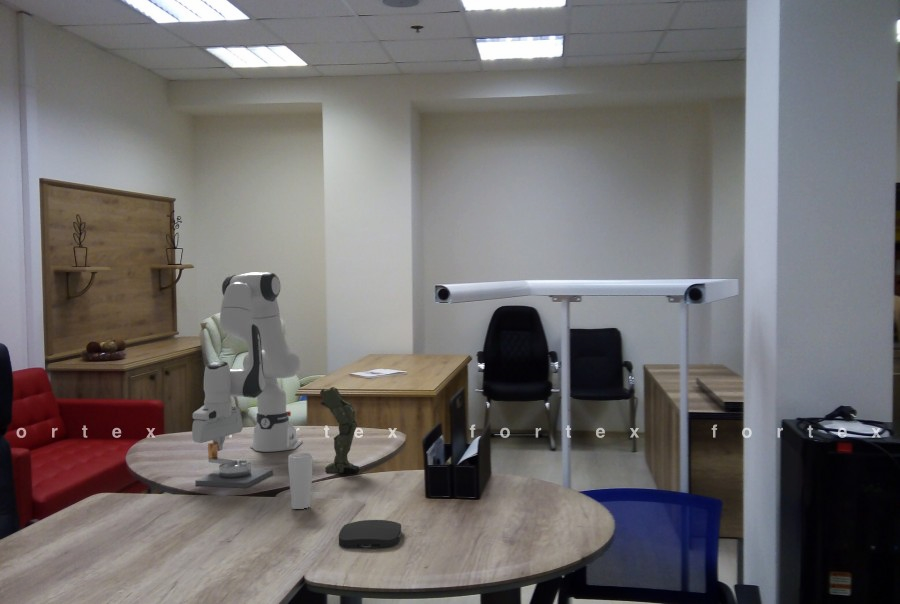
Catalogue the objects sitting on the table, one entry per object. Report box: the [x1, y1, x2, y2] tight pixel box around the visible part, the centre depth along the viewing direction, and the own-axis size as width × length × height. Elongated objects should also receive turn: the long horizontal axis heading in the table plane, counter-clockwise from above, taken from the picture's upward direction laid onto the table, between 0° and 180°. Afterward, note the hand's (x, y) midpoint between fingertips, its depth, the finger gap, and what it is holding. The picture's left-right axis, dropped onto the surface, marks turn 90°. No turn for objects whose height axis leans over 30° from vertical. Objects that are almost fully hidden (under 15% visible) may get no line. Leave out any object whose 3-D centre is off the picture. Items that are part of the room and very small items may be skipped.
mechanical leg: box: [319, 386, 360, 474], centre depth 249 cm, size 14×7×30 cm, turn 85°
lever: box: [207, 442, 252, 478], centre depth 241 cm, size 16×10×9 cm, turn 62°
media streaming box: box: [338, 519, 402, 549], centre depth 180 cm, size 15×15×3 cm
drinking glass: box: [287, 452, 314, 510], centre depth 206 cm, size 7×7×15 cm
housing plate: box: [194, 468, 274, 489], centre depth 239 cm, size 18×18×2 cm
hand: (218, 450), depth 247 cm, fingers closed
